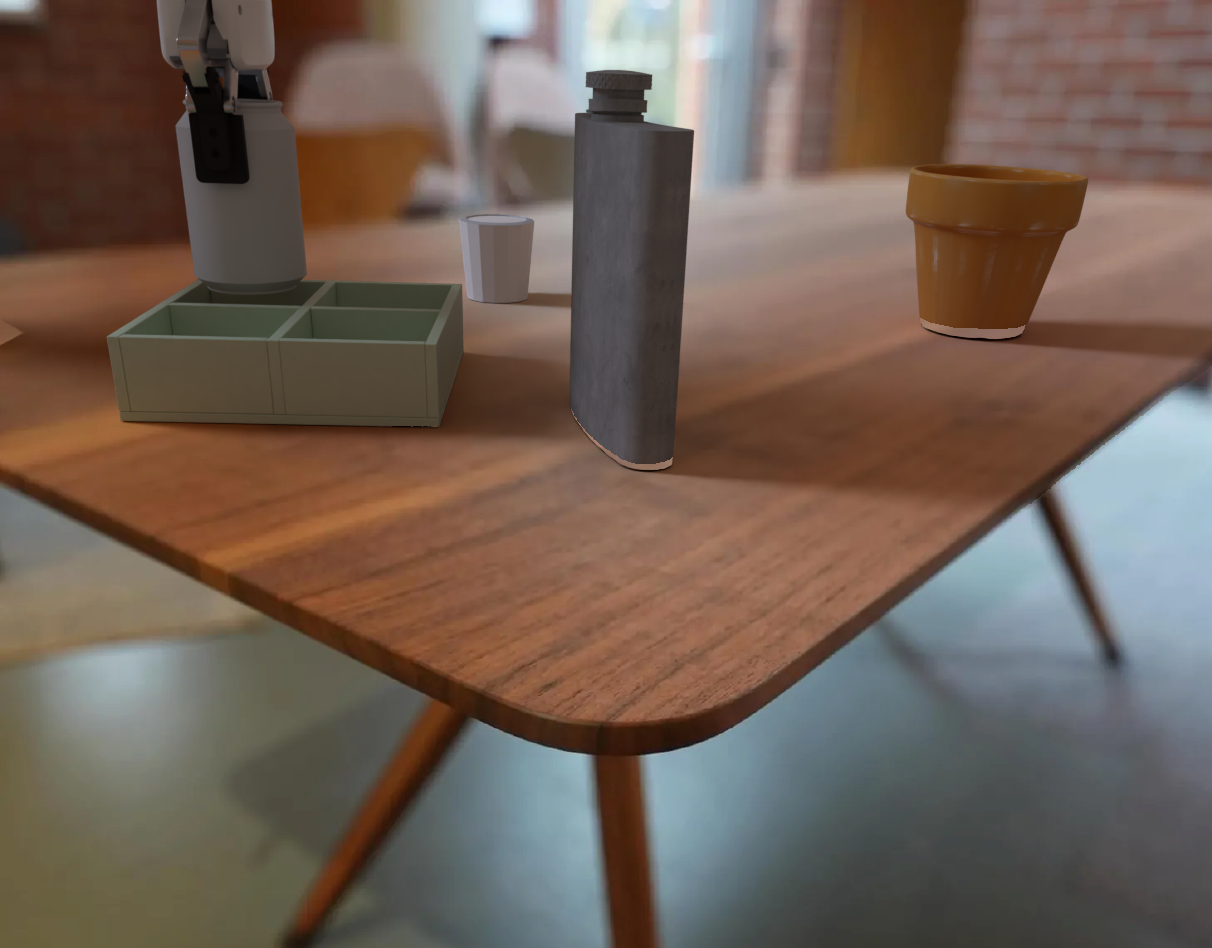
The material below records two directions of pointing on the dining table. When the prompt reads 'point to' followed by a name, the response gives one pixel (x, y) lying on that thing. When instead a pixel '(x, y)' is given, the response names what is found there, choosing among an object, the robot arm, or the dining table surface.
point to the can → (248, 209)
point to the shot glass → (496, 256)
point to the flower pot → (987, 239)
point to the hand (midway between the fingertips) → (240, 174)
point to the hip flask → (628, 268)
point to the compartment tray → (293, 355)
